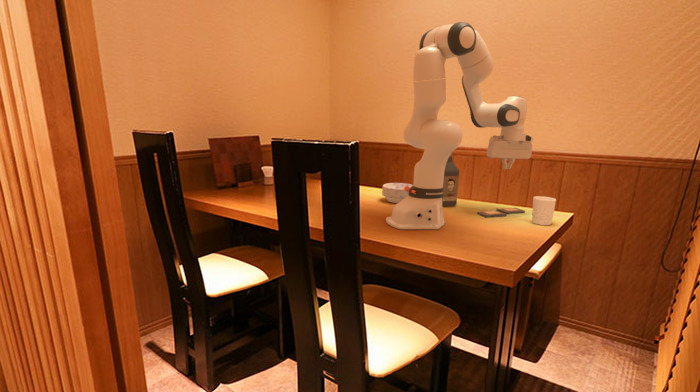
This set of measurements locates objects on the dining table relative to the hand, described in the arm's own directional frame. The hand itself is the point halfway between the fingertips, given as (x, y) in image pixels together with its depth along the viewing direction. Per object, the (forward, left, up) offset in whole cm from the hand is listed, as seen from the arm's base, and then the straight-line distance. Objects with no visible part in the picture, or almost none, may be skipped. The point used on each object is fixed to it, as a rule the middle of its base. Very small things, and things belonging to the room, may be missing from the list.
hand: (506, 168), depth 158 cm
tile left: (-8, -4, -19) cm, 21 cm away
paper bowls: (-37, +28, -19) cm, 51 cm away
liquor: (-18, +17, -19) cm, 32 cm away
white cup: (+4, -18, -19) cm, 27 cm away
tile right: (+4, -1, -19) cm, 19 cm away
